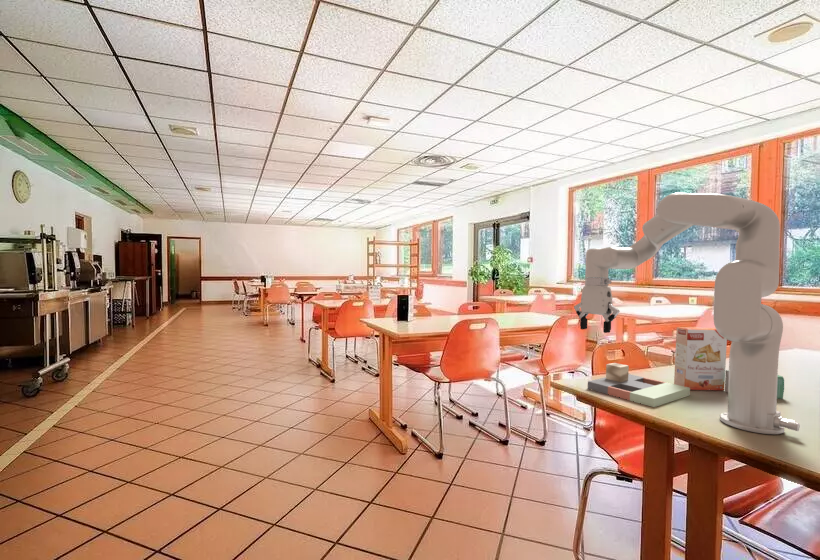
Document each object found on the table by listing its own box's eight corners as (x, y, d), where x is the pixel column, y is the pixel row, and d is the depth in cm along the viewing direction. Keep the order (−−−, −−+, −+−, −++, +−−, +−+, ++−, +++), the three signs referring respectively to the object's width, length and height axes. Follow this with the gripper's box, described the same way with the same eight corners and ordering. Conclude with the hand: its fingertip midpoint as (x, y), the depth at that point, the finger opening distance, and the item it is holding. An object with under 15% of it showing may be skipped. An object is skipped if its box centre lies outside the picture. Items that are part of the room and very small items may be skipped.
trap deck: (689, 395, 127) (690, 387, 127) (653, 407, 115) (654, 398, 114) (624, 379, 145) (624, 373, 145) (587, 388, 132) (587, 381, 132)
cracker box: (685, 390, 132) (687, 328, 132) (673, 385, 138) (675, 326, 138) (726, 391, 133) (728, 329, 133) (711, 386, 139) (713, 327, 139)
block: (628, 380, 135) (628, 365, 135) (620, 382, 132) (620, 367, 132) (613, 376, 139) (614, 362, 139) (605, 378, 136) (606, 364, 136)
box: (784, 399, 125) (785, 375, 125) (742, 398, 126) (742, 375, 125) (764, 392, 133) (764, 370, 133) (724, 391, 133) (724, 369, 133)
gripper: (626, 283, 137) (624, 333, 137) (580, 282, 151) (579, 327, 152) (614, 283, 133) (612, 335, 133) (568, 281, 147) (567, 328, 148)
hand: (594, 330), depth 142 cm, fingers open, 8 cm apart
